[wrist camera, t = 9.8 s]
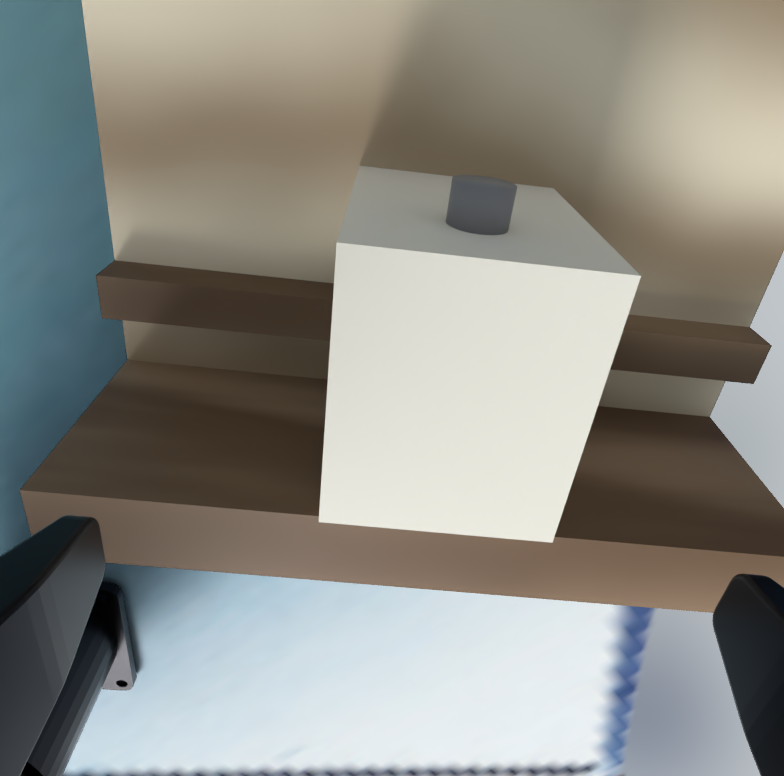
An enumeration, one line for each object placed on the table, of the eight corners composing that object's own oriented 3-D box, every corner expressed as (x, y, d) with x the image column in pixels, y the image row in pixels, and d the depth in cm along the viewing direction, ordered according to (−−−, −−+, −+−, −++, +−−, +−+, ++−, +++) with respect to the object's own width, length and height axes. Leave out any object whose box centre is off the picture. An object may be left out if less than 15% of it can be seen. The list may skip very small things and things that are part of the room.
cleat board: (675, 449, 21) (787, 619, 15) (145, 399, 20) (36, 557, 14) (934, -161, 13) (1410, -332, 7) (67, -287, 12) (-270, -612, 6)
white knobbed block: (505, 388, 19) (552, 542, 13) (343, 372, 18) (318, 522, 13) (561, 155, 15) (657, 227, 10) (361, 131, 15) (339, 191, 9)
